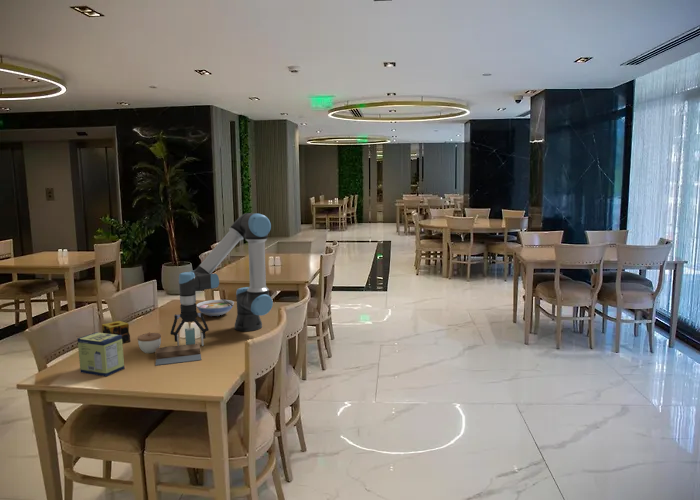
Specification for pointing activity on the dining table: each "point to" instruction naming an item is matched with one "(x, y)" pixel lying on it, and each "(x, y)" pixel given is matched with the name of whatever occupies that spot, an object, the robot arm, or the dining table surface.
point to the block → (190, 336)
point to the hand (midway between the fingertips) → (190, 346)
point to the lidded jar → (149, 342)
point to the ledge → (177, 351)
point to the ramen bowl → (215, 307)
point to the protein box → (101, 354)
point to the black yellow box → (117, 330)
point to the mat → (178, 359)
